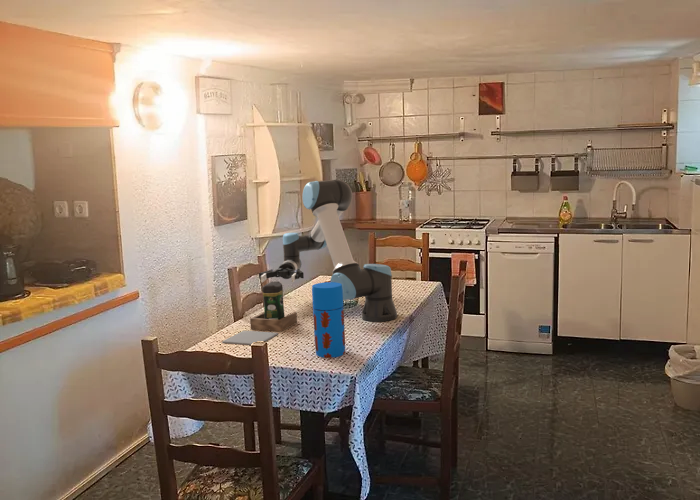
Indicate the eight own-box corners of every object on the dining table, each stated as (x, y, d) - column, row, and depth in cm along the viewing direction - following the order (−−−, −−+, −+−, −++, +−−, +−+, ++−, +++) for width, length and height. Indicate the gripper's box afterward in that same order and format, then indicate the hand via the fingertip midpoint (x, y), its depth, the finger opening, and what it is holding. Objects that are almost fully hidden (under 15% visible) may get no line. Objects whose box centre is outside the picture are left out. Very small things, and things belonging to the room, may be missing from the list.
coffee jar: (269, 322, 289) (266, 280, 286) (287, 322, 288) (284, 280, 285) (262, 328, 280) (259, 284, 277) (280, 328, 278) (278, 284, 275)
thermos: (341, 358, 235) (338, 288, 231) (312, 357, 237) (308, 288, 234) (348, 349, 246) (344, 281, 242) (319, 348, 248) (316, 282, 244)
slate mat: (278, 334, 270) (278, 332, 270) (258, 345, 255) (258, 344, 255) (243, 331, 276) (243, 330, 276) (222, 342, 261) (222, 341, 261)
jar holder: (297, 322, 287) (296, 312, 286) (281, 331, 274) (280, 320, 273) (267, 320, 292) (266, 310, 292) (250, 329, 279) (250, 318, 279)
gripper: (314, 277, 311) (305, 287, 290) (262, 277, 314) (249, 287, 293) (313, 261, 310) (304, 270, 289) (261, 262, 313) (248, 271, 292)
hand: (277, 279), depth 291 cm, fingers open, 13 cm apart
